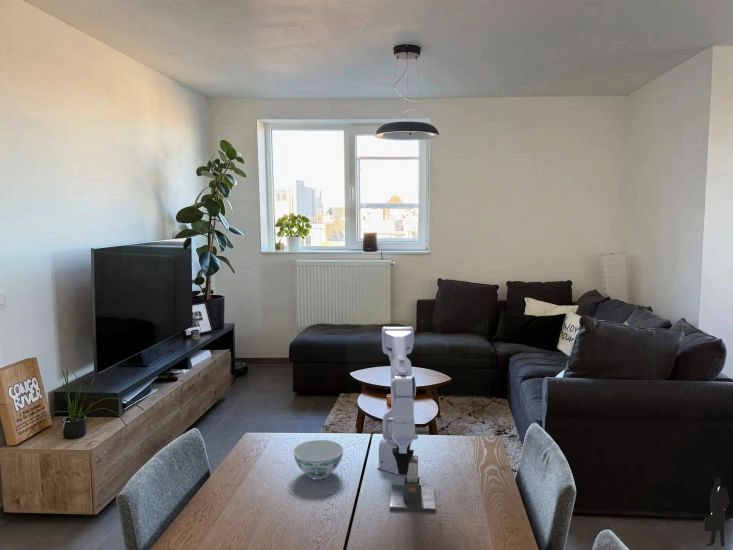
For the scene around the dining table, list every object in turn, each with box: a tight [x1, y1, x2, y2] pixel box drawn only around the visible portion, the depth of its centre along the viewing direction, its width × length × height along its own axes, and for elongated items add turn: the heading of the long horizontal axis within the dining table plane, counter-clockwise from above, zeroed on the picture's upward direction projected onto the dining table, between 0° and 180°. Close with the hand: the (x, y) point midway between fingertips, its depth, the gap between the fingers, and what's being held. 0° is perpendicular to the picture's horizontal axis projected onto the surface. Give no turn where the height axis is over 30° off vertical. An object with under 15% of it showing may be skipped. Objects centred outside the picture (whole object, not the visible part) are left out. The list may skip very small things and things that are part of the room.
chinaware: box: [293, 439, 344, 480], centre depth 160 cm, size 15×15×8 cm
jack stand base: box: [389, 475, 436, 513], centre depth 145 cm, size 12×12×6 cm
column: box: [406, 454, 419, 484], centre depth 144 cm, size 3×3×8 cm
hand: (403, 467), depth 144 cm, fingers open, 7 cm apart
